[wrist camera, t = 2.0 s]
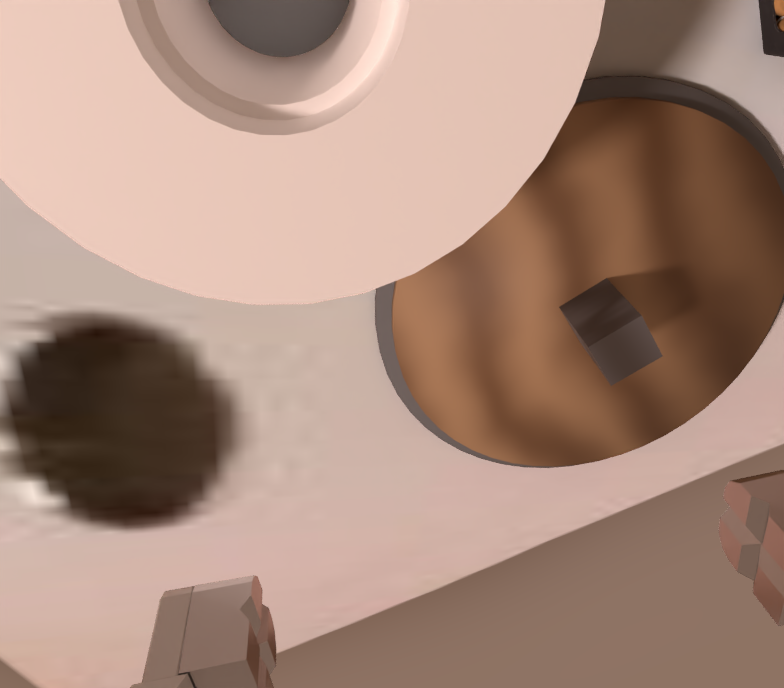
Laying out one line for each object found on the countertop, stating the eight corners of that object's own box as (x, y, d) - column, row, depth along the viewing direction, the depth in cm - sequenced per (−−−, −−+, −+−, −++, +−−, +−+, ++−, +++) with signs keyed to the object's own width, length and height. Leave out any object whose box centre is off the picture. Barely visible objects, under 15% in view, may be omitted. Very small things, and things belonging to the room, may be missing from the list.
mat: (712, -37, 34) (718, -37, 34) (833, 334, 48) (839, 338, 47) (284, 259, 40) (284, 263, 39) (501, 516, 53) (503, 522, 53)
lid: (707, -6, 34) (777, 1, 29) (823, 336, 47) (886, 383, 42) (308, 266, 40) (309, 313, 34) (508, 509, 52) (531, 570, 47)
